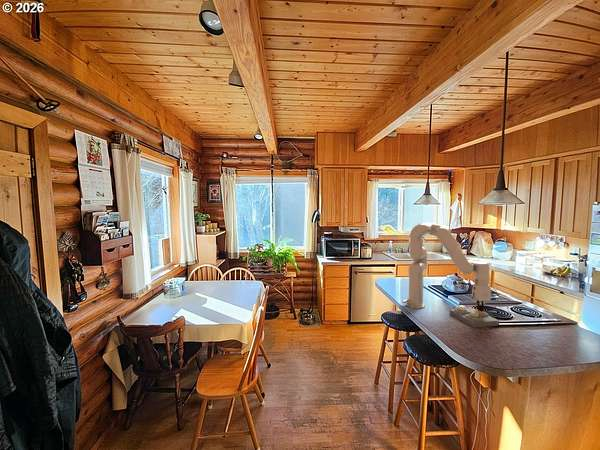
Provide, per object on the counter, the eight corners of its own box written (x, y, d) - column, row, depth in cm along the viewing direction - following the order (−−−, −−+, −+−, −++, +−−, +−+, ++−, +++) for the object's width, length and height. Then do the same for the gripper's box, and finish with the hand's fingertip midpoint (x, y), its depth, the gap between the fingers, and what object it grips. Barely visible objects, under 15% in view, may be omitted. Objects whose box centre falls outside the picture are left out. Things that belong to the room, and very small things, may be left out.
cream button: (461, 311, 171) (461, 307, 171) (456, 308, 175) (456, 305, 175) (467, 311, 171) (467, 307, 171) (462, 308, 176) (462, 304, 176)
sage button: (473, 317, 161) (473, 314, 161) (467, 315, 165) (468, 311, 165) (480, 317, 162) (480, 313, 161) (474, 314, 166) (474, 310, 166)
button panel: (473, 327, 158) (473, 320, 158) (449, 314, 178) (450, 307, 178) (499, 325, 161) (499, 318, 160) (472, 312, 180) (473, 306, 180)
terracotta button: (479, 315, 167) (479, 312, 167) (473, 313, 172) (474, 309, 171) (485, 315, 168) (485, 311, 168) (480, 312, 172) (480, 309, 172)
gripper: (475, 284, 163) (474, 313, 165) (497, 283, 166) (496, 312, 167) (466, 280, 171) (465, 309, 172) (487, 279, 173) (486, 307, 174)
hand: (480, 310), depth 169 cm, fingers closed
